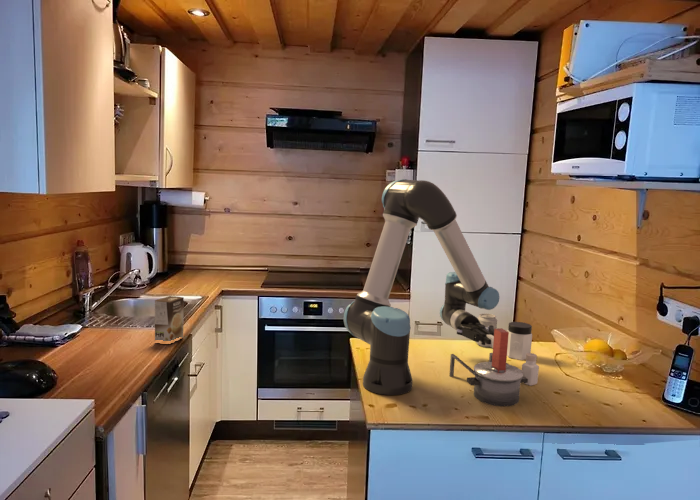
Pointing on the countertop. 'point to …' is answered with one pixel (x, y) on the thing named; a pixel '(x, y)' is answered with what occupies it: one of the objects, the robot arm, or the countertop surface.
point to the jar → (519, 340)
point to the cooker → (491, 387)
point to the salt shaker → (530, 369)
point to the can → (487, 324)
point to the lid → (499, 361)
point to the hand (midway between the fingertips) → (498, 345)
